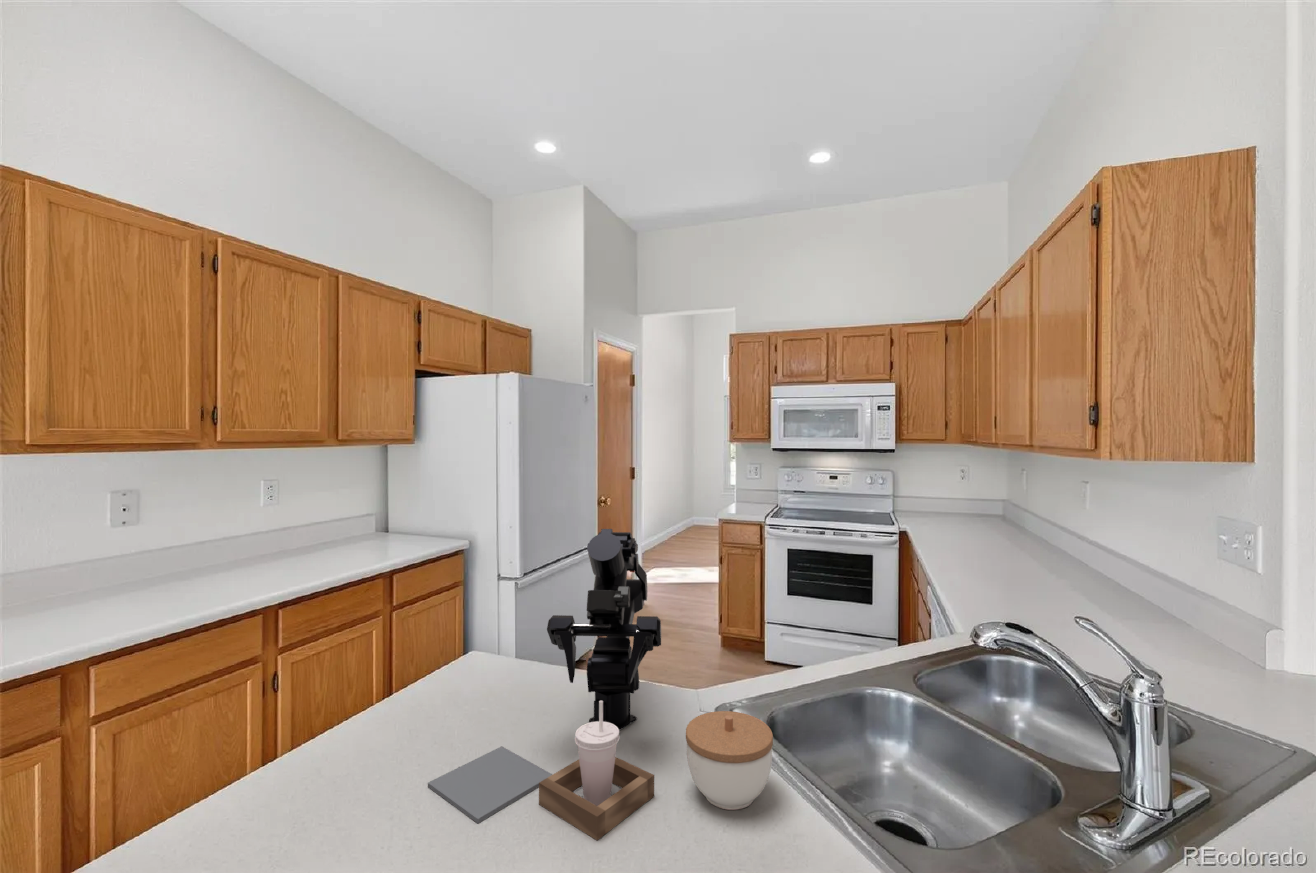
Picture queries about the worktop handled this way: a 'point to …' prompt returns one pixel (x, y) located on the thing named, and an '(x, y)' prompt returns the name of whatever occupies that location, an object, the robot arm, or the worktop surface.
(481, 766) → the slate mat
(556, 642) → the robot arm
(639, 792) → the walnut holder
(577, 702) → the worktop surface
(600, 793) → the smoothie
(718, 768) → the lidded bowl
